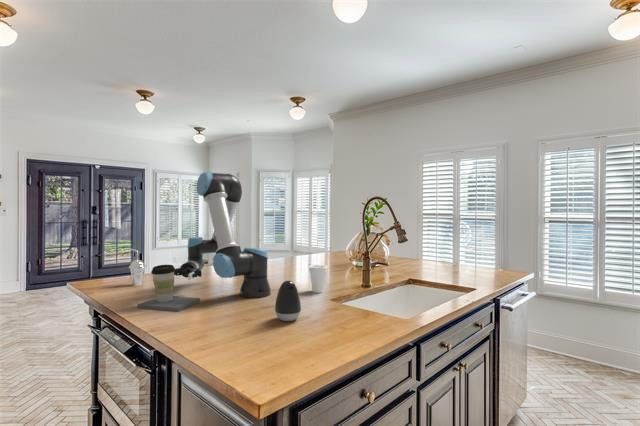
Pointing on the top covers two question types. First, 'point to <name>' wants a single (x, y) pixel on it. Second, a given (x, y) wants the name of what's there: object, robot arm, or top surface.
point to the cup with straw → (137, 270)
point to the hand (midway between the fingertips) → (174, 277)
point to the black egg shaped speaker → (287, 302)
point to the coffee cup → (163, 282)
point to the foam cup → (318, 277)
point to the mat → (170, 303)
